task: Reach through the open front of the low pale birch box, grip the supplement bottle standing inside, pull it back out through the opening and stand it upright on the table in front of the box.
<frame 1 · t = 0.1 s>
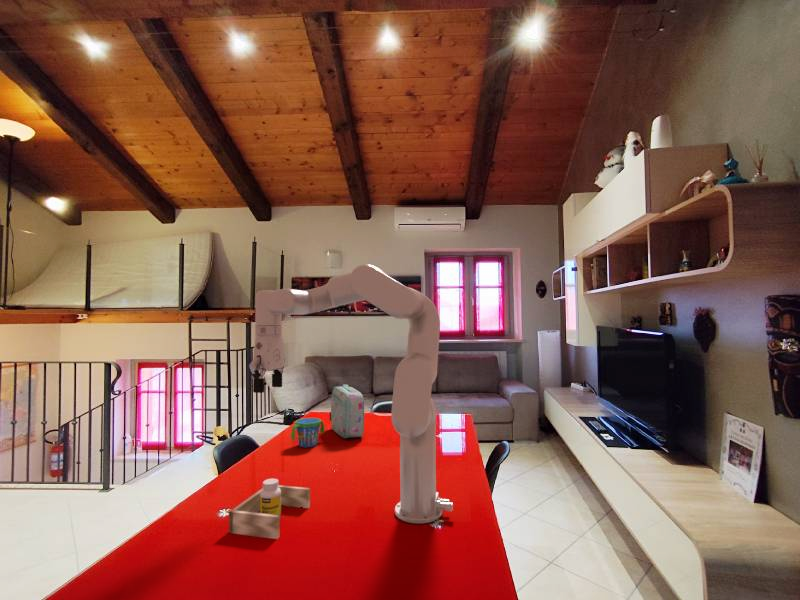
hand: (268, 389, 119), 31 cm above the table, tool pointing down, fingers open, 9 cm apart
open-sided box: (272, 518, 105), on the table
lunch box: (346, 433, 184), on the table
snack cup: (308, 445, 167), on the table
supplement bottle: (270, 519, 105), on the table
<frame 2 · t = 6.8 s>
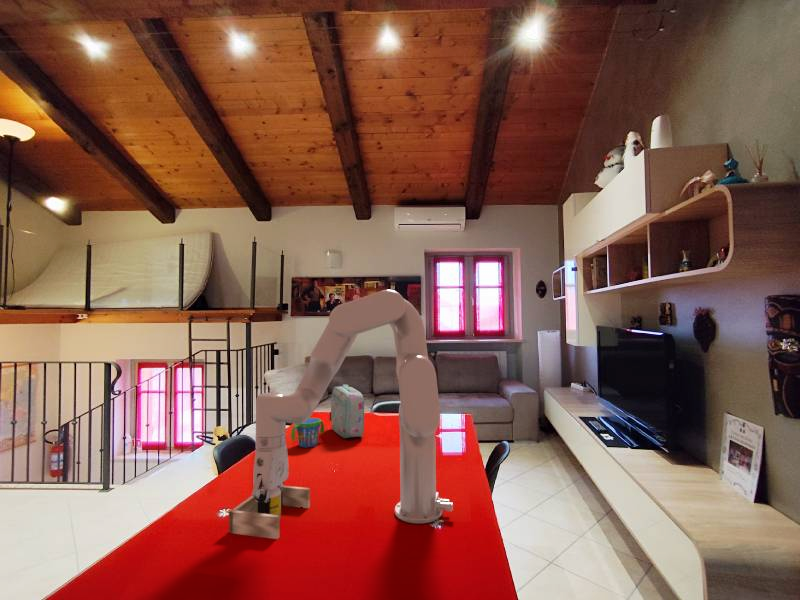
hand: (270, 510, 105), 2 cm above the table, tool pointing down, fingers closed on supplement bottle, 5 cm apart
supplement bottle: (270, 519, 105), on the table, touching gripper
everything else where it was.
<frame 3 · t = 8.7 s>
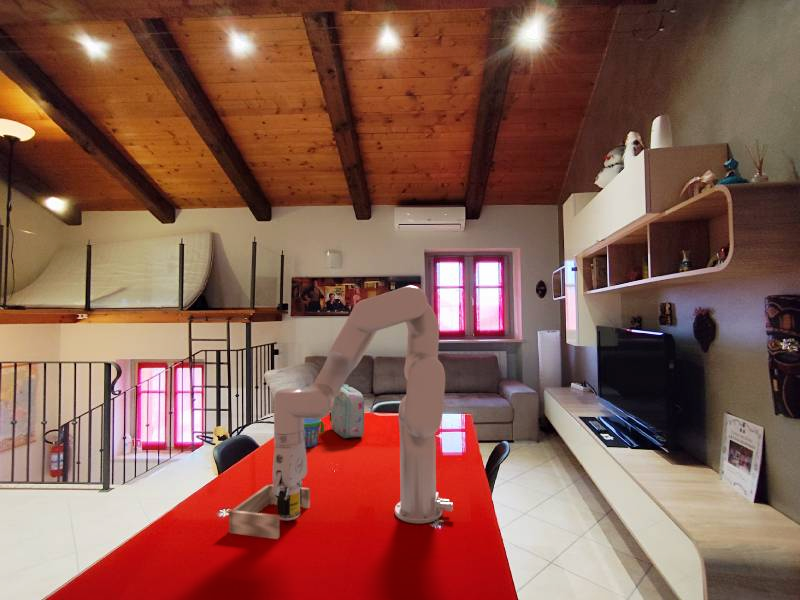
hand: (289, 508, 104), 3 cm above the table, tool pointing down, fingers closed on supplement bottle, 5 cm apart
supplement bottle: (289, 516, 104), point 1 cm above the table, touching gripper
everything else where it was.
when the fingers open (2 cm above the table, at t = 10.8 s): supplement bottle stays where it is, on the table.
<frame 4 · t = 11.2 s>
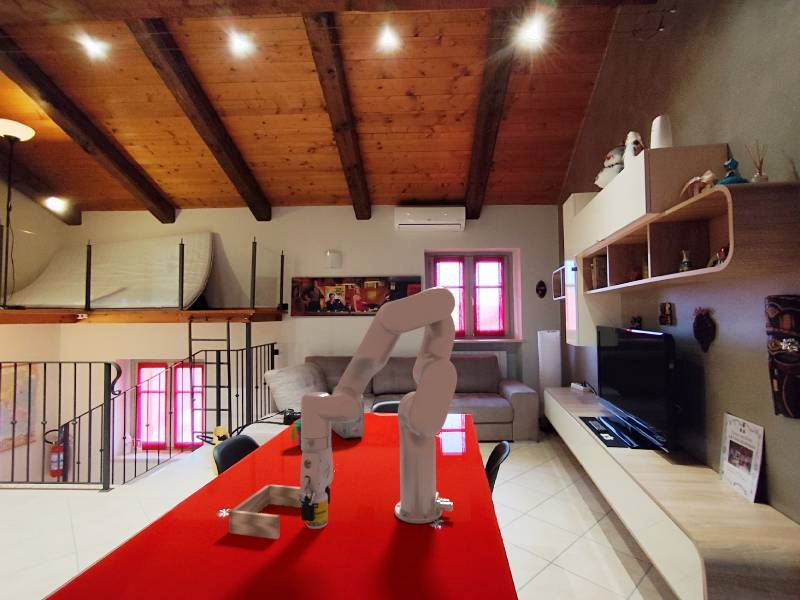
hand: (316, 511, 102), 3 cm above the table, tool pointing down, fingers open, 8 cm apart
supplement bottle: (317, 525, 102), on the table
everything else where it was.
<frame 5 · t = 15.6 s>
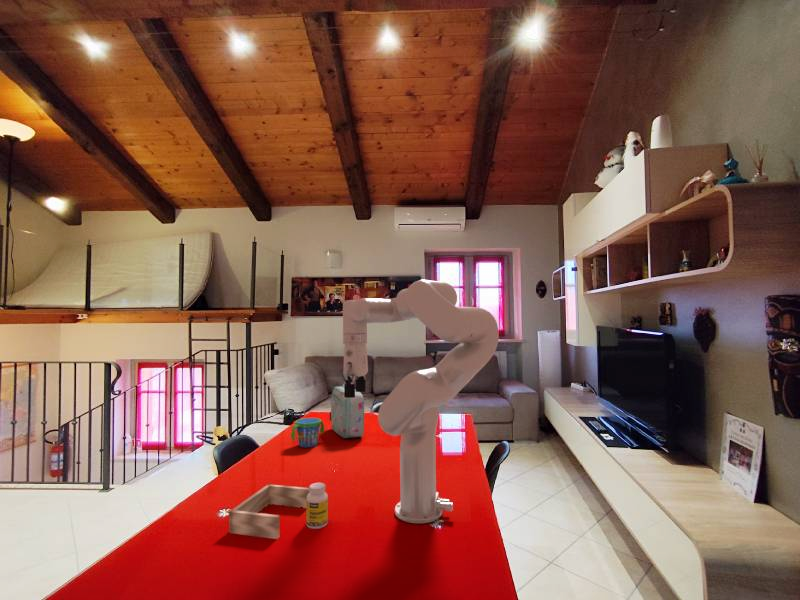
hand: (355, 394, 126), 28 cm above the table, tool pointing down, fingers open, 9 cm apart
nothing on the table moved.
at the end: supplement bottle inside the target area (1.8 cm from its centre), on the table; supplement bottle tilted 0°; the gripper is holding nothing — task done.
